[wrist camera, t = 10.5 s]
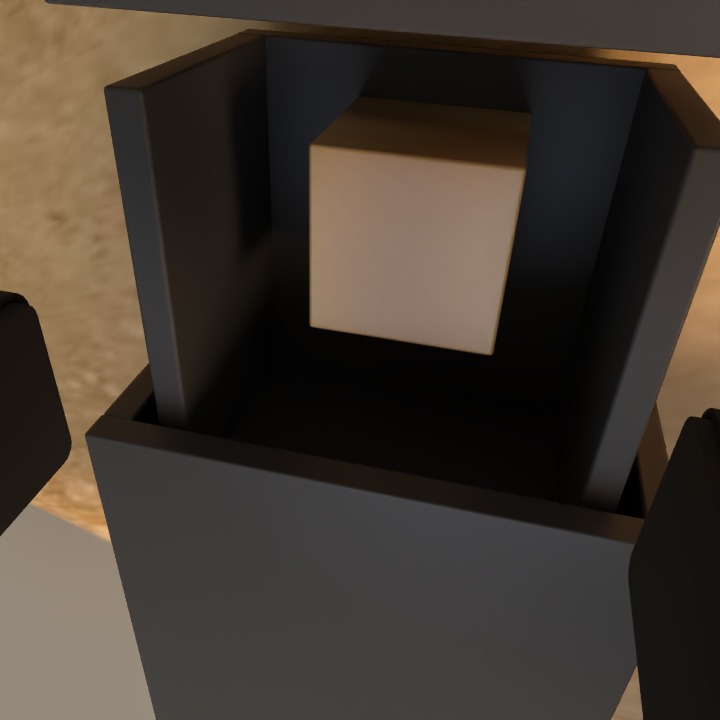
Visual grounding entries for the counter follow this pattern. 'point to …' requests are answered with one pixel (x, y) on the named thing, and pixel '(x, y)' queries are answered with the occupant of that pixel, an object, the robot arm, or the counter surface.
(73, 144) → the counter surface
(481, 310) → the block
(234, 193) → the drawer
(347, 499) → the cabinet
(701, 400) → the counter surface
